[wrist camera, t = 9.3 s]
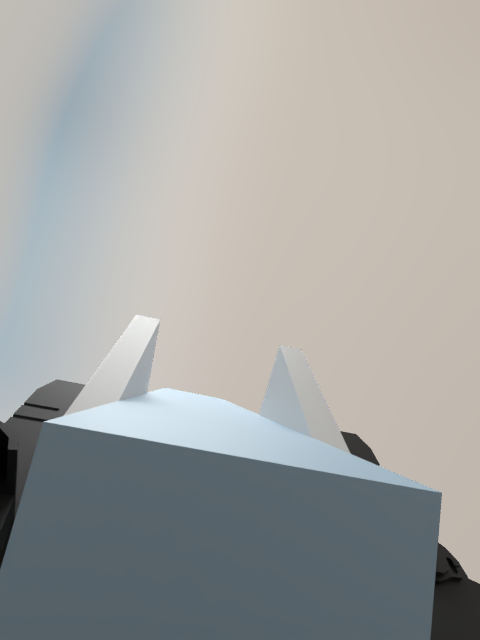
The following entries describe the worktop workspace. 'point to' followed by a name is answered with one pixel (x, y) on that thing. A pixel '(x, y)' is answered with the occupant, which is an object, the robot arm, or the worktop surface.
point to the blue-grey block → (212, 532)
